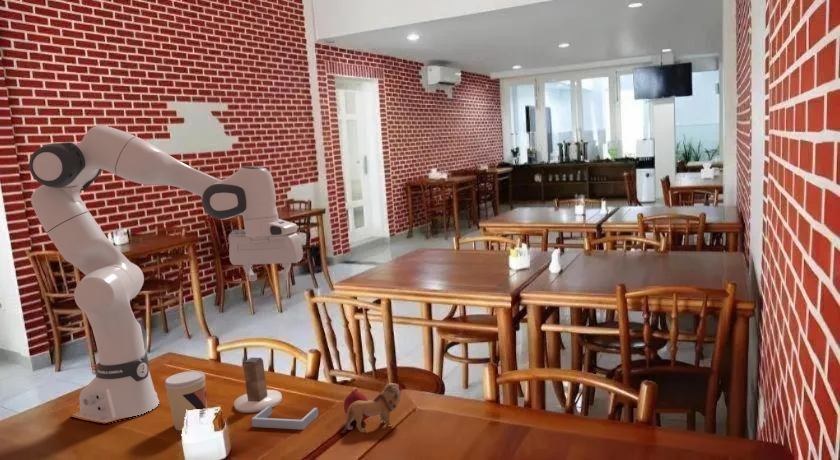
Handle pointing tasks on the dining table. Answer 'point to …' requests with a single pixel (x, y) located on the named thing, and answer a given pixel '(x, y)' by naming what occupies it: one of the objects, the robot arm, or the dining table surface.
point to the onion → (353, 399)
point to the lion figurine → (374, 407)
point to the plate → (254, 406)
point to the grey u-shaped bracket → (282, 420)
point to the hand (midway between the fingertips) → (268, 280)
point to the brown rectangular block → (255, 379)
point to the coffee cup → (185, 394)
